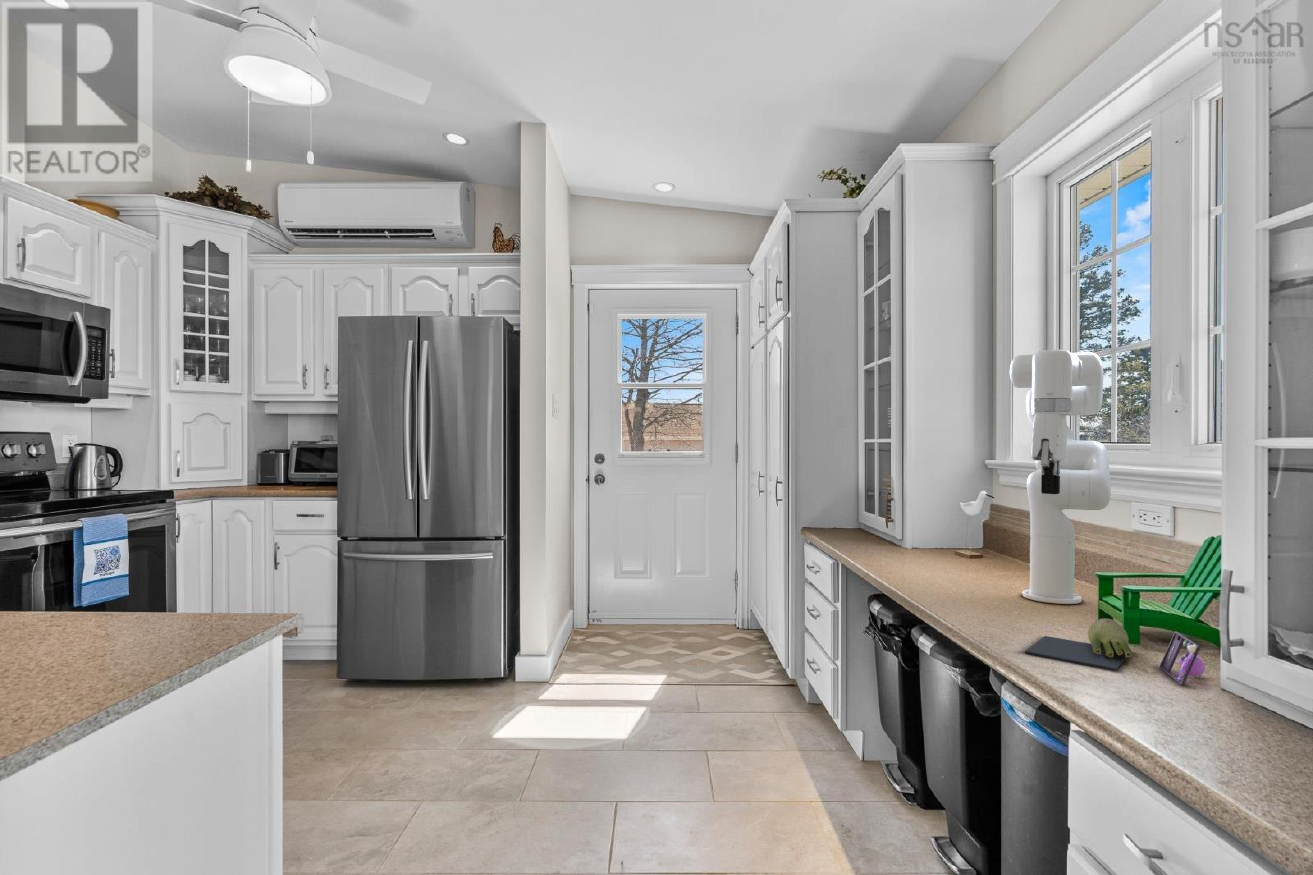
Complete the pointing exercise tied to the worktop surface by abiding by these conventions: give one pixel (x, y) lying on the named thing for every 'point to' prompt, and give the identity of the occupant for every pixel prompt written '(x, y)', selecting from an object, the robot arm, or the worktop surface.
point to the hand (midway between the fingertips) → (1050, 493)
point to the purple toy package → (1182, 658)
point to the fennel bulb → (1109, 638)
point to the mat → (1075, 653)
